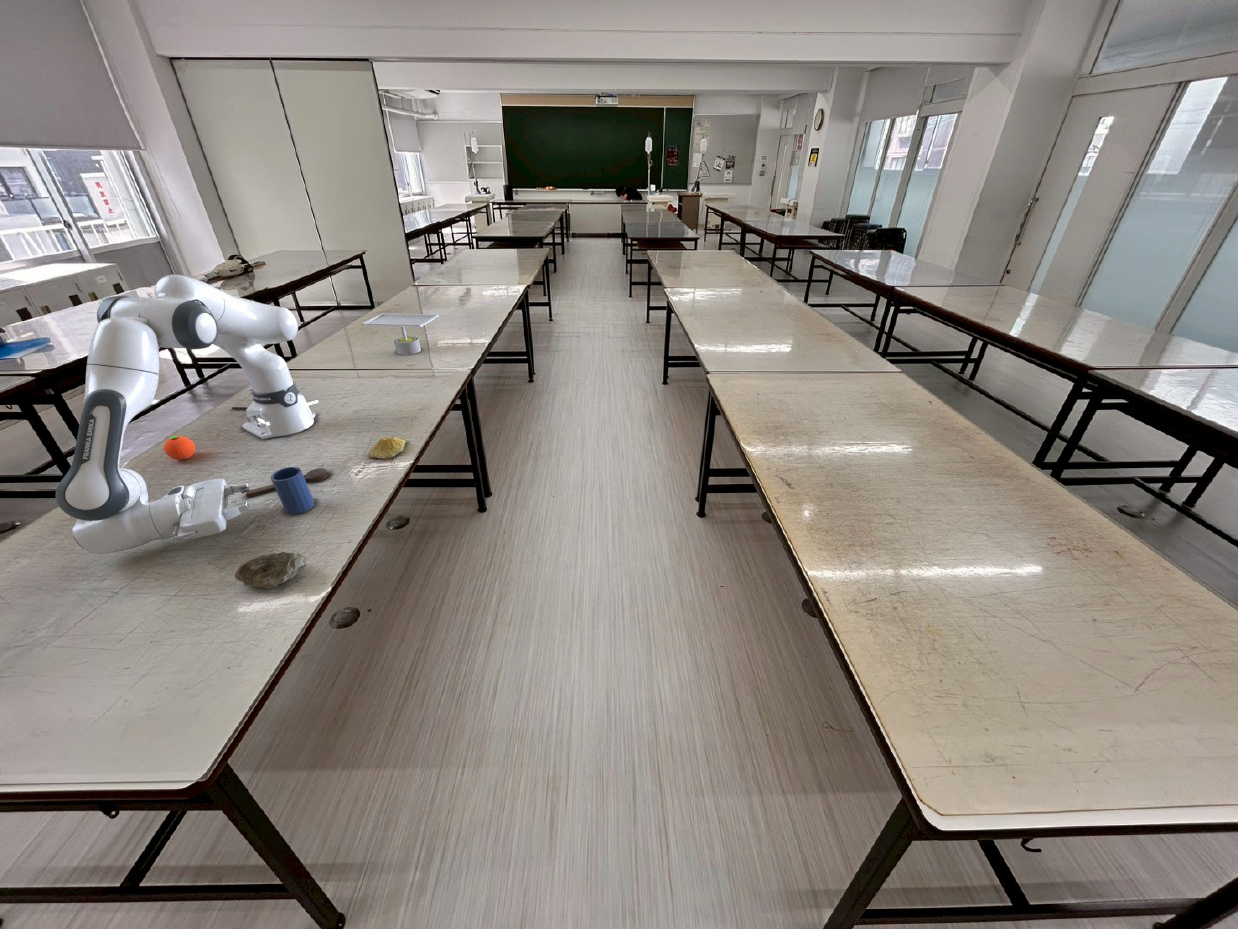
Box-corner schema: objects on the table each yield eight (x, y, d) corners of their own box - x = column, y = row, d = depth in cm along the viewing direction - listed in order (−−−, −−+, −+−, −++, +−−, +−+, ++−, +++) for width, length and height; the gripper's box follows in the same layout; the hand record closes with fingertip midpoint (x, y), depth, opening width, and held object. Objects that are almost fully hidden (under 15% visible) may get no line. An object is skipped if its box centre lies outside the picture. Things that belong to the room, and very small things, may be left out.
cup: (280, 514, 123) (264, 480, 118) (295, 499, 128) (281, 466, 123) (305, 514, 123) (290, 481, 117) (319, 499, 128) (306, 467, 123)
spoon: (247, 500, 128) (244, 496, 127) (247, 491, 132) (245, 486, 131) (329, 478, 136) (327, 474, 136) (327, 470, 140) (325, 465, 139)
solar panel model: (369, 356, 222) (360, 323, 214) (390, 344, 236) (381, 312, 229) (427, 359, 219) (420, 325, 211) (444, 346, 233) (438, 314, 225)
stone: (320, 557, 106) (292, 550, 99) (307, 594, 104) (277, 590, 96) (270, 551, 109) (239, 543, 101) (256, 587, 106) (223, 582, 99)
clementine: (167, 457, 147) (155, 436, 144) (195, 448, 152) (184, 428, 148) (173, 466, 143) (161, 445, 139) (202, 457, 147) (191, 436, 143)
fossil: (378, 424, 151) (408, 427, 149) (386, 438, 155) (415, 442, 153) (358, 449, 143) (389, 453, 141) (366, 463, 147) (397, 467, 146)
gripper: (163, 529, 103) (242, 507, 109) (175, 483, 117) (244, 466, 124) (177, 552, 106) (253, 529, 112) (187, 504, 121) (254, 487, 127)
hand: (248, 496), depth 118 cm, fingers open, 8 cm apart
